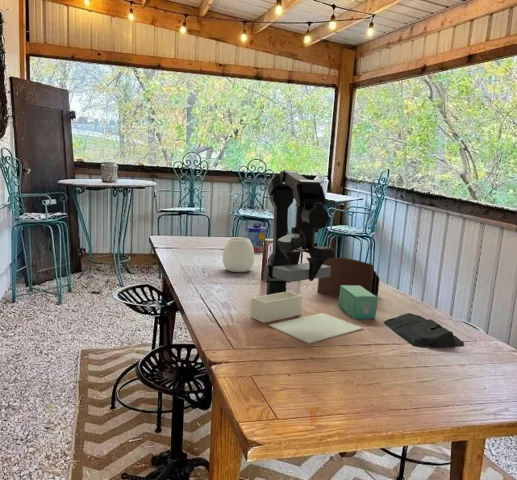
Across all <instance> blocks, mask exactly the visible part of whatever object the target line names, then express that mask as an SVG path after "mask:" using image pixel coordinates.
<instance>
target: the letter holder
mask: <svg viewBox="0 0 517 480" xmlns="http://www.w3.org/2000/svg"><path fill="white" fill-rule="evenodd" d="M322 265H326V266H330V267H331V275H330V277H323V278H317V279H318V282H317V293H318V294H319V293H320V294H324V295H325V294H326V295H329V296H335V297H339V294H340V285H356V286H362V287H363V288H364V289H366V290H367V291H369V292H370V293H372V294H373V295H375V296H376V297H377V298H378V296H379V288H380V287H379V286H380V277H379V275H377V272H376V270H375V267H374V265H373V264H371V263H368V262H364V261H363V260H362V261H361V260H357V259H352V258H346V257H337V256H334V258H330V259H328V260H325V262H324V263H323V264H322Z"/></svg>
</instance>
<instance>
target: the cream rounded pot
mask: <svg viewBox="0 0 517 480" xmlns="http://www.w3.org/2000/svg"><path fill="white" fill-rule="evenodd" d="M222 263H223V266H224V268H225V269H226V270H227V271H229V272H233V273H246V272H249V271H250V270H251V269H252V268H253V266H254V264H255V252H254V248H253V245H252V243H251V241H250V239H247V238H246V237H242V236H241V237H240V236H239V237H237V236H235V237H233V236H232V237H230V238H228V239H227V241H226V242H225V244H224V247H223V251H222Z"/></svg>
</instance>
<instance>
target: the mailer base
mask: <svg viewBox="0 0 517 480" xmlns="http://www.w3.org/2000/svg"><path fill="white" fill-rule="evenodd" d="M302 299H303V297H302V295H300V294H298V293H294V292H292V291H286V292H282V293H276V294H270V295H266V294H264V295H258V296H253V297H251V311H250V317H251V319H255V320H257V321H259V322H262V323H263V324H264V323H268V322H273V321H278V320H279V321H280V320H282V319H287V318H293V317H296V316H300V315H301V313H302V312H301V311H302V301H303V300H302Z"/></svg>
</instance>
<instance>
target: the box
mask: <svg viewBox="0 0 517 480" xmlns="http://www.w3.org/2000/svg"><path fill="white" fill-rule="evenodd" d="M337 304H338V305H337V306H338V307H339V308H340V309H341V310H343V311H344V313H346V314H347V315H349V316H350V317H351V318H352V319H353V320H364V319H365V320H369V319H370V320H373V319H376V314H377V308H378V296H377V297H376V296H375V295H373V294H372V293H370V292H369V291H367V290H366V289H364V288H363V287H362V286H356V285H340V294H339V296H338V303H337Z"/></svg>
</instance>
